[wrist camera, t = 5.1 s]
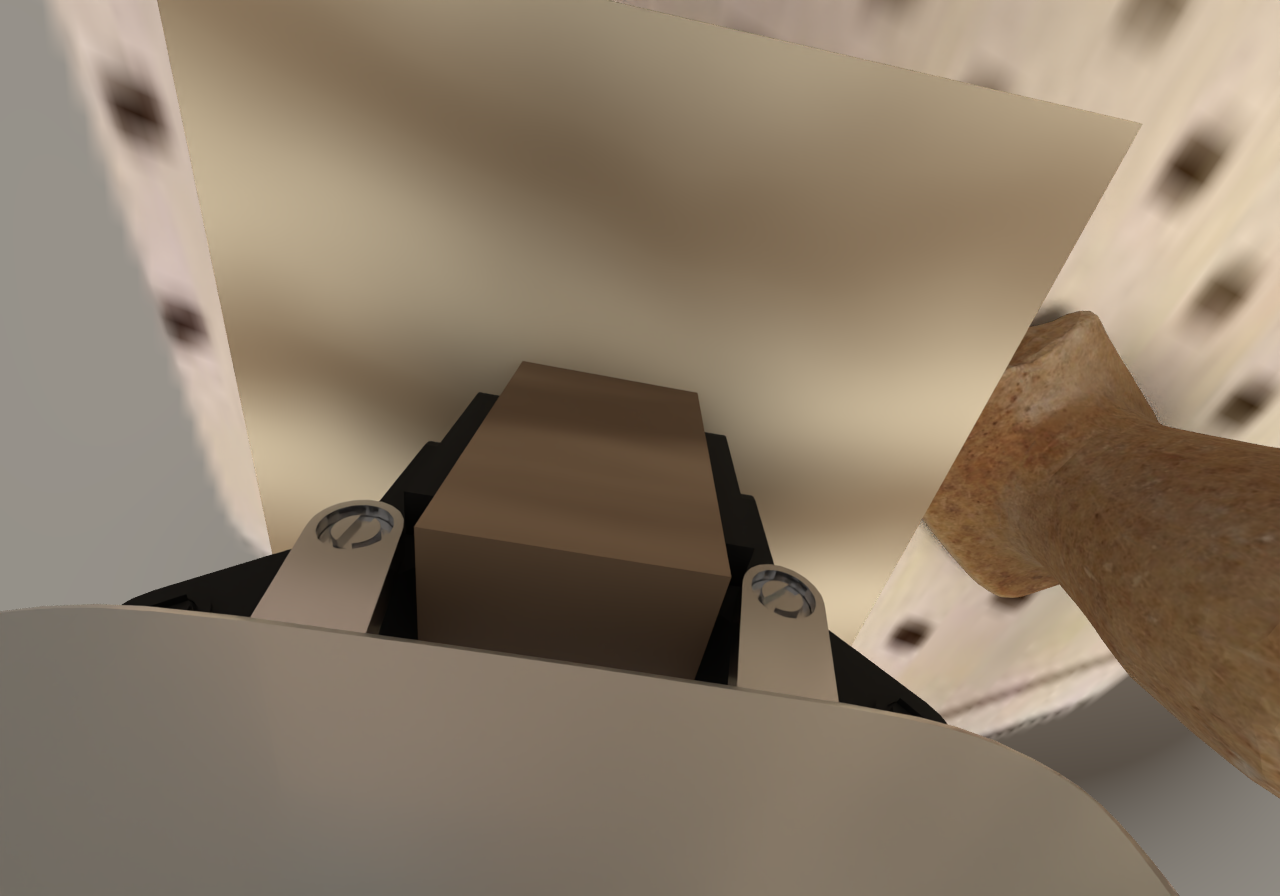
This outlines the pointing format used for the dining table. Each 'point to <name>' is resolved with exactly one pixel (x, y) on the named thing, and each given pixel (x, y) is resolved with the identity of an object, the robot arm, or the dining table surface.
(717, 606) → the birch lid
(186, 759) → the robot arm
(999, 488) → the brown boot-shaped piece
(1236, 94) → the dining table surface
